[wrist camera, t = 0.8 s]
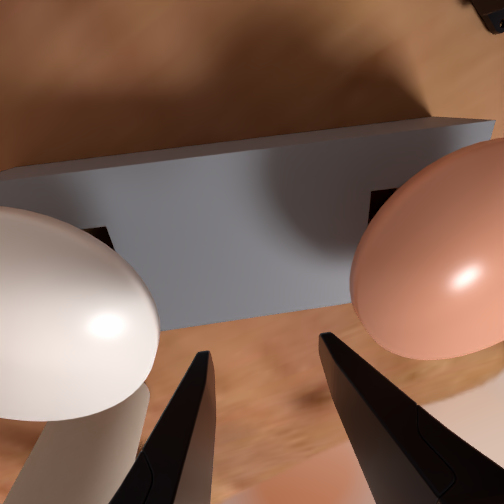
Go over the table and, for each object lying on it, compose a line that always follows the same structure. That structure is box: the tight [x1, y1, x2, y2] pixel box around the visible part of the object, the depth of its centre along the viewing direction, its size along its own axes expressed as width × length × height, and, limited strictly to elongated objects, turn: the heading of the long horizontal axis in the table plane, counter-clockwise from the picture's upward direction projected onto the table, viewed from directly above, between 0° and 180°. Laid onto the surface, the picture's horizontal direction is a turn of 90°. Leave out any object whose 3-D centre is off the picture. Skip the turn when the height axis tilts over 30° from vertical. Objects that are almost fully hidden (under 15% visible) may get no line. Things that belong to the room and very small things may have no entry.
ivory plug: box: [0, 206, 160, 421], centre depth 14 cm, size 11×11×6 cm
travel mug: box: [3, 382, 150, 504], centre depth 21 cm, size 8×8×18 cm
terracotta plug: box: [349, 138, 504, 360], centre depth 15 cm, size 11×11×6 cm
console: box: [0, 117, 496, 331], centre depth 19 cm, size 28×11×5 cm, turn 96°
